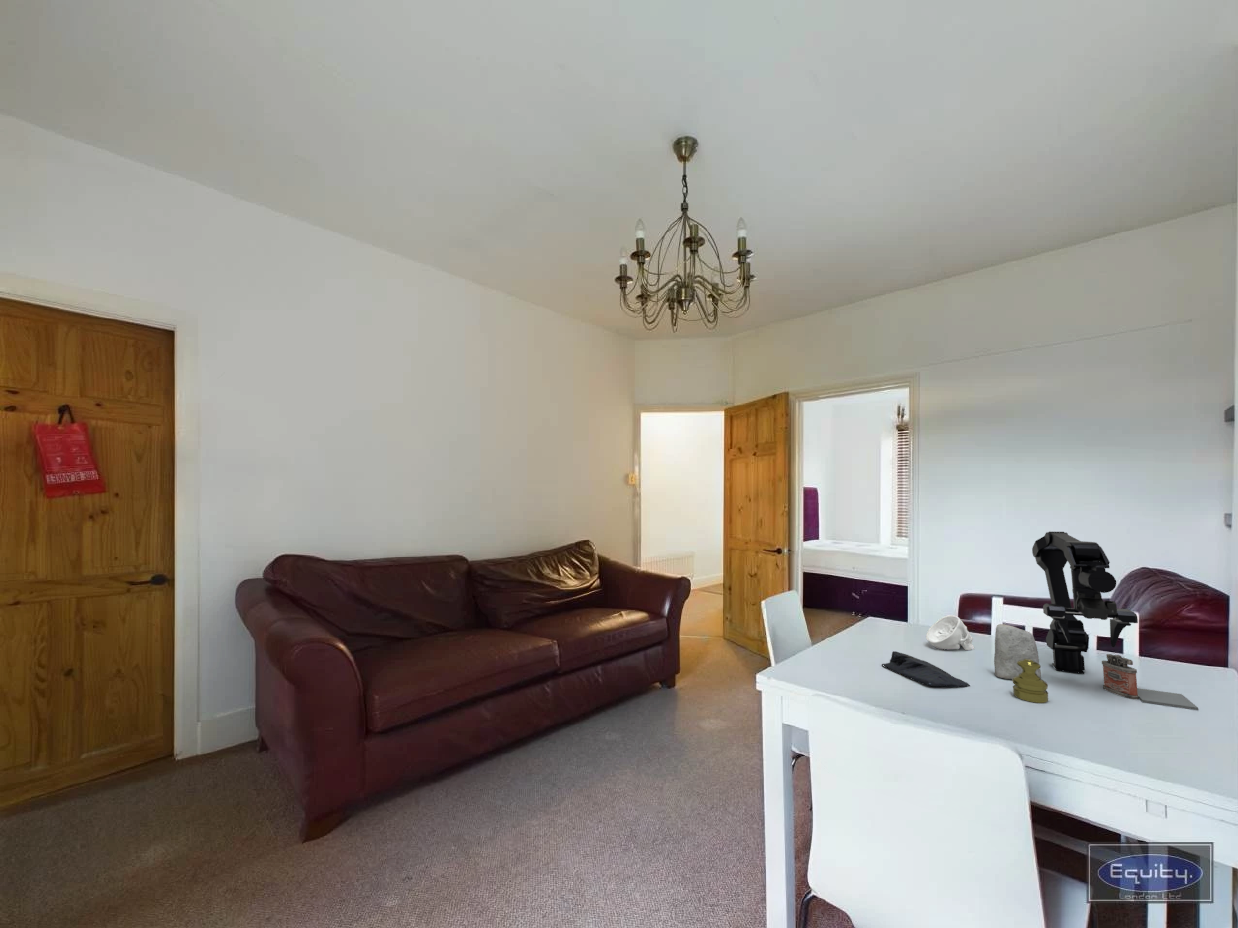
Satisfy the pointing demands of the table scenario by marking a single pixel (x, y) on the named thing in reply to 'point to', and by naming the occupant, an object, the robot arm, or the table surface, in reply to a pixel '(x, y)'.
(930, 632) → the skull bowl
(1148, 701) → the mat
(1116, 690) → the lighter
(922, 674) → the dark slate chunk
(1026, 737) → the table surface
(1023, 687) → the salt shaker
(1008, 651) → the decorative stone
